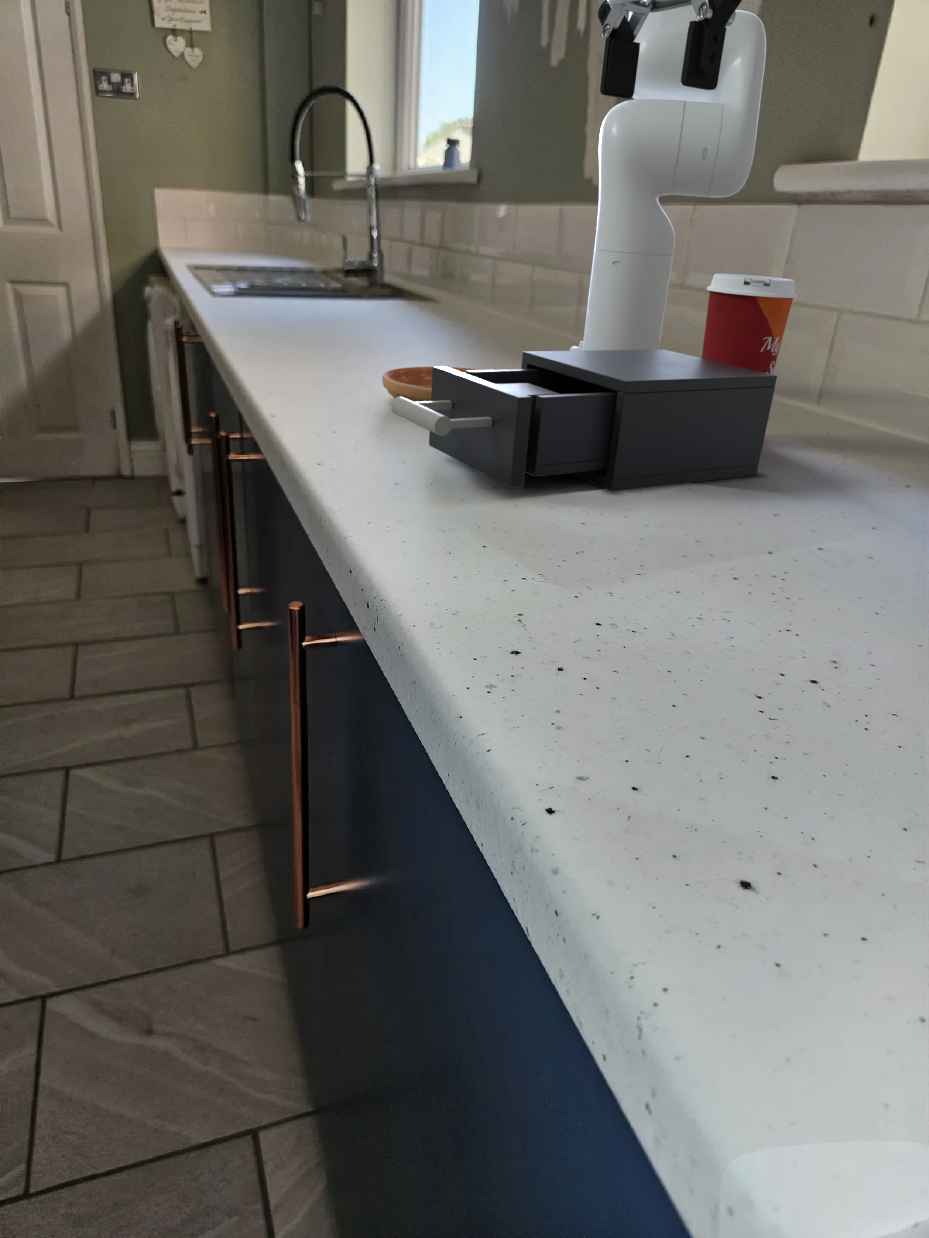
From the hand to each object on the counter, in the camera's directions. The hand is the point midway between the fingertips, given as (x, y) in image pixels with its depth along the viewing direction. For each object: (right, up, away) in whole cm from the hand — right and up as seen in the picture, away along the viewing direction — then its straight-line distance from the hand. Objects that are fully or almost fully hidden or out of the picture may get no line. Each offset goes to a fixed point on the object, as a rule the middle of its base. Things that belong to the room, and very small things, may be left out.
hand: (655, 92), depth 69 cm
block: (-11, -28, 0) cm, 31 cm away
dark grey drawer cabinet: (-1, -28, +6) cm, 29 cm away
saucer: (-16, -20, +23) cm, 34 cm away
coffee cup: (+11, -24, +18) cm, 32 cm away
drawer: (-11, -29, 0) cm, 31 cm away
